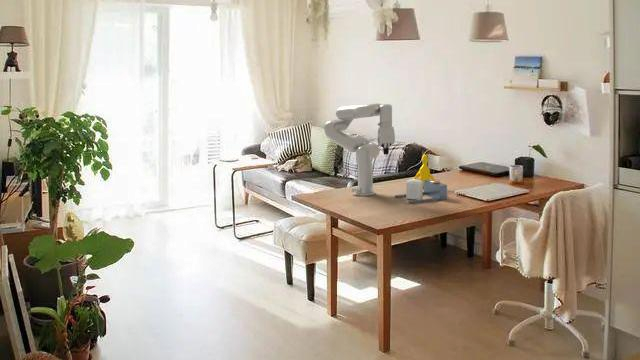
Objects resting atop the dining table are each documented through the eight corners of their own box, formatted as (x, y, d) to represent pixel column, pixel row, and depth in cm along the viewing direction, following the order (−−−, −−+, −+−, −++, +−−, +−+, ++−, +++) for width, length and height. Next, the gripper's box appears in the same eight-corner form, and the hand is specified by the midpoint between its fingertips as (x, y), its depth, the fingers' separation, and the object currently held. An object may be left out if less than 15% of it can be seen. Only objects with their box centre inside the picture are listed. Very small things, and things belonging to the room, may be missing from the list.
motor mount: (409, 204, 344) (409, 187, 342) (394, 197, 362) (394, 182, 360) (447, 199, 353) (447, 183, 351) (431, 193, 370) (431, 177, 368)
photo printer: (423, 199, 356) (423, 179, 354) (421, 200, 353) (421, 180, 350) (407, 197, 361) (407, 178, 359) (405, 199, 357) (405, 179, 355)
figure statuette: (435, 185, 393) (436, 153, 389) (438, 187, 386) (439, 154, 381) (409, 186, 393) (409, 154, 388) (412, 188, 385) (412, 156, 381)
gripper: (377, 126, 350) (377, 156, 353) (399, 124, 355) (399, 154, 358) (372, 124, 357) (372, 154, 360) (394, 123, 361) (394, 152, 365)
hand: (386, 154), depth 359 cm, fingers closed
